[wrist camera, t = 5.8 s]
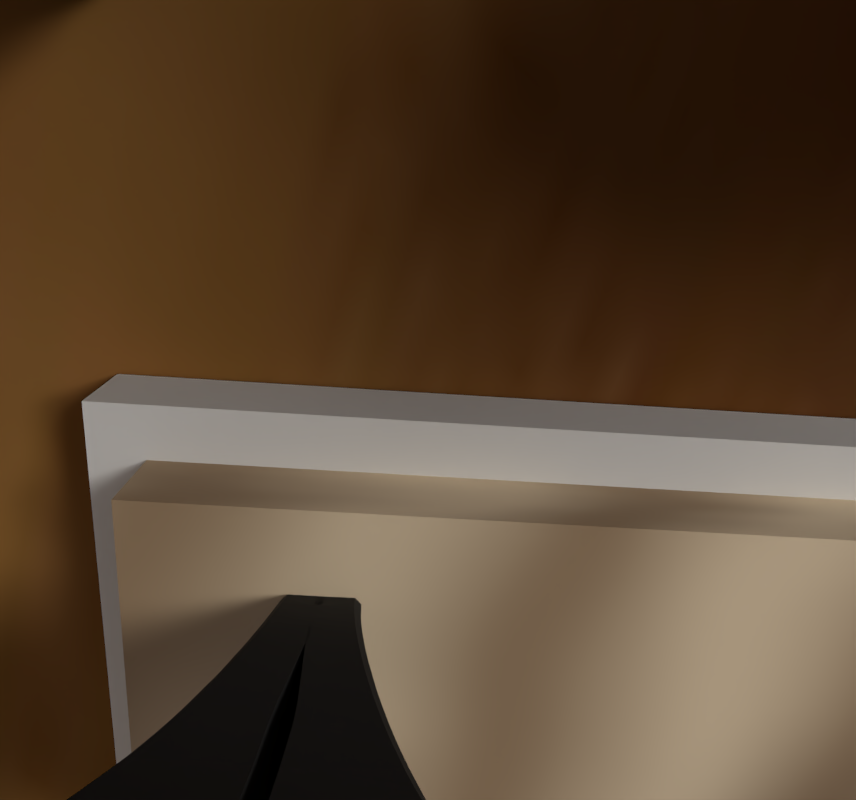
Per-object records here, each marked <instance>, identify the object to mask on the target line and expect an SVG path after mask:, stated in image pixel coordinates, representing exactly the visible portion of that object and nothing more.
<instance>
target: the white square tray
mask: <svg viewBox="0 0 856 800" xmlns="http://www.w3.org/2000/svg"><path fill="white" fill-rule="evenodd" d="M82 411H83V421H84V432H85V442H86V452H87V463H88V473H89V484H90V494H91V505H92V515H93V525H94V536H95V546H96V557H97V567H98V577H99V588H100V598H101V609H102V619H103V630H104V640H105V650H106V661H107V671H108V682H109V692H110V702H111V713H112V723H113V734H114V744H115V755H116V764H117V763H118V762H120V761H121V760H122V759H124V758H125V757H126V756H128V755H129V754H130V753H131V741H130V729H129V716H128V704H127V691H126V679H125V666H124V654H123V641H122V629H121V616H120V604H119V591H118V579H117V566H116V554H115V541H114V529H113V516H112V504H111V500H112V498H113V497H114V496H115V495H116V494H117V493H118V492H119V491H120V489H121V488H122V487H123V486H124V485H125V484H126V483H127V482H128V480H129V479H130V478H131V477H132V476H133V475H134V474H135V473H136V471H137V470H138V469H139V468H140V467H141V466H142V465H143V464H144V462H145V461H146V460H154V461H172V462H190V463H207V464H225V465H242V466H260V467H278V468H295V469H313V470H330V471H348V472H366V473H383V474H401V475H418V476H436V477H454V478H471V479H489V480H506V481H524V482H542V483H559V484H577V485H594V486H612V487H629V488H647V489H665V490H682V491H700V492H717V493H735V494H753V495H770V496H788V497H805V498H823V499H841V500H856V419H848V418H832V417H816V416H799V415H783V414H766V413H750V412H733V411H717V410H701V409H684V408H668V407H651V406H635V405H618V404H602V403H586V402H569V401H553V400H536V399H520V398H504V397H487V396H471V395H454V394H438V393H421V392H405V391H389V390H372V389H356V388H339V387H323V386H306V385H290V384H274V383H257V382H241V381H224V380H208V379H192V378H175V377H159V376H142V375H126V374H117V375H115V376H114V377H113V378H111V379H110V380H109V381H107V382H106V383H105V384H103V385H102V386H101V387H100V388H98V389H97V390H96V391H94V392H93V393H92V394H90V395H89V396H88V397H86V398H85V399H84V400H82Z"/></svg>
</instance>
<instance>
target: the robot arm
mask: <svg viewBox="0 0 856 800" xmlns="http://www.w3.org/2000/svg"><path fill="white" fill-rule="evenodd" d="M67 800H426V799H425V797H424V795H423V793H422V791H421V790H420V788H419V786H418V784H417V782H416V780H415V778H414V777H413V775H412V773H411V771H410V769H409V767H408V765H407V763H406V761H405V759H404V756H403V754H402V752H401V750H400V748H399V746H398V744H397V741H396V739H395V737H394V735H393V732H392V730H391V727H390V725H389V722H388V720H387V717H386V714H385V712H384V709H383V707H382V704H381V701H380V698H379V695H378V692H377V689H376V686H375V683H374V679H373V676H372V672H371V669H370V665H369V662H368V658H367V654H366V649H365V644H364V639H363V633H362V626H361V604H360V602H359V601H358V600H357V599H356V598H346V597H325V596H306V595H290V594H288V595H286V596H285V597H284V598H283V599H281V600H280V602H279V603H278V604H277V606H276V607H275V608H274V610H273V611H272V612H271V613H270V615H269V616H268V617H267V618H266V620H265V621H264V622H263V623H262V625H261V626H260V627H259V628H258V629H257V631H256V632H255V633H254V634H253V635H252V637H251V638H250V639H249V640H248V641H247V643H246V644H245V645H244V646H243V647H242V648H241V649H240V650H239V651H238V653H237V654H236V655H235V656H234V657H233V658H232V659H231V660H230V661H229V662H228V664H227V665H226V666H225V667H224V668H223V669H222V670H221V671H220V672H219V673H218V674H217V675H216V676H215V677H214V678H213V679H212V680H211V681H210V682H209V683H208V684H207V685H206V686H205V687H204V688H203V689H202V690H201V691H200V692H199V693H198V694H197V695H196V696H195V697H194V698H193V699H192V700H191V701H190V702H189V703H188V704H187V705H186V706H185V707H184V708H183V709H182V710H181V711H180V712H179V713H177V714H176V715H175V716H174V717H173V718H172V719H171V720H170V721H169V722H167V723H166V724H165V725H164V726H163V727H162V728H161V729H159V730H158V731H157V732H156V733H155V734H154V735H152V736H151V737H150V738H149V739H148V740H146V741H145V742H144V743H143V744H141V745H140V746H139V747H138V748H137V749H135V750H134V751H133V752H132V753H130V754H129V755H128V756H126V757H125V758H124V759H122V760H121V761H120V762H118V763H117V764H116V765H115V766H113V767H112V768H111V769H109V770H108V771H107V772H105V773H104V774H102V775H101V776H100V777H98V778H97V779H95V780H94V781H93V782H91V783H90V784H88V785H87V786H86V787H84V788H83V789H81V790H80V791H79V792H77V793H76V794H74V795H73V796H71V797H70V798H68V799H67Z"/></svg>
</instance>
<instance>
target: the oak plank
mask: <svg viewBox="0 0 856 800" xmlns="http://www.w3.org/2000/svg"><path fill="white" fill-rule="evenodd" d="M111 504H112V516H113V529H114V541H115V554H116V566H117V579H118V591H119V604H120V616H121V629H122V641H123V654H124V666H125V679H126V691H127V704H128V716H129V729H130V741H131V753H132V752H133V751H134V750H135V749H137V748H138V747H139V746H140V745H141V744H143V743H144V742H145V741H146V740H148V739H149V738H150V737H151V736H152V735H154V734H155V733H156V732H157V731H158V730H159V729H161V728H162V727H163V726H164V725H165V724H166V723H167V722H169V721H170V720H171V719H172V718H173V717H174V716H175V715H176V714H177V713H179V712H180V711H181V710H182V709H183V708H184V707H185V706H186V705H187V704H188V703H189V702H190V701H191V700H192V699H193V698H194V697H195V696H196V695H197V694H198V693H199V692H200V691H201V690H202V689H203V688H204V687H205V686H206V685H207V684H208V683H209V682H210V681H211V680H212V679H213V678H214V677H215V676H216V675H217V674H218V673H219V672H220V671H221V670H222V669H223V668H224V667H225V666H226V665H227V664H228V662H229V661H230V660H231V659H232V658H233V657H234V656H235V655H236V654H237V653H238V651H239V650H240V649H241V648H242V647H243V646H244V645H245V644H246V643H247V641H248V640H249V639H250V638H251V637H252V635H253V634H254V633H255V632H256V631H257V629H258V628H259V627H260V626H261V625H262V623H263V622H264V621H265V620H266V618H267V617H268V616H269V615H270V613H271V612H272V611H273V610H274V608H275V607H276V606H277V604H278V603H279V602H280V600H281V599H283V598H284V597H285V596H286V595H288V594H290V595H306V596H325V597H346V598H356V599H357V600H358V601H359V602H360V604H361V626H362V633H363V639H364V644H365V649H366V654H367V658H368V662H369V665H370V669H371V672H372V676H373V679H374V683H375V686H376V689H377V692H378V695H379V698H380V701H381V704H382V707H383V709H384V712H385V714H386V717H387V720H388V722H389V725H390V727H391V730H392V732H393V735H394V737H395V739H396V741H397V744H398V746H399V748H400V750H401V752H402V754H403V756H404V759H405V761H406V763H407V765H408V767H409V769H410V771H411V773H412V775H413V777H414V778H415V780H416V782H417V784H418V786H419V788H420V790H421V791H422V793H423V795H424V797H425V799H426V800H856V500H841V499H823V498H805V497H788V496H770V495H753V494H735V493H717V492H700V491H682V490H665V489H647V488H629V487H612V486H594V485H577V484H559V483H542V482H524V481H506V480H489V479H471V478H454V477H436V476H418V475H401V474H383V473H366V472H348V471H330V470H313V469H295V468H278V467H260V466H242V465H225V464H207V463H190V462H172V461H154V460H146V461H145V462H144V464H143V465H142V466H141V467H140V468H139V469H138V470H137V471H136V473H135V474H134V475H133V476H132V477H131V478H130V479H129V480H128V482H127V483H126V484H125V485H124V486H123V487H122V488H121V489H120V491H119V492H118V493H117V494H116V495H115V496H114V497H113V498H112V500H111Z"/></svg>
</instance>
